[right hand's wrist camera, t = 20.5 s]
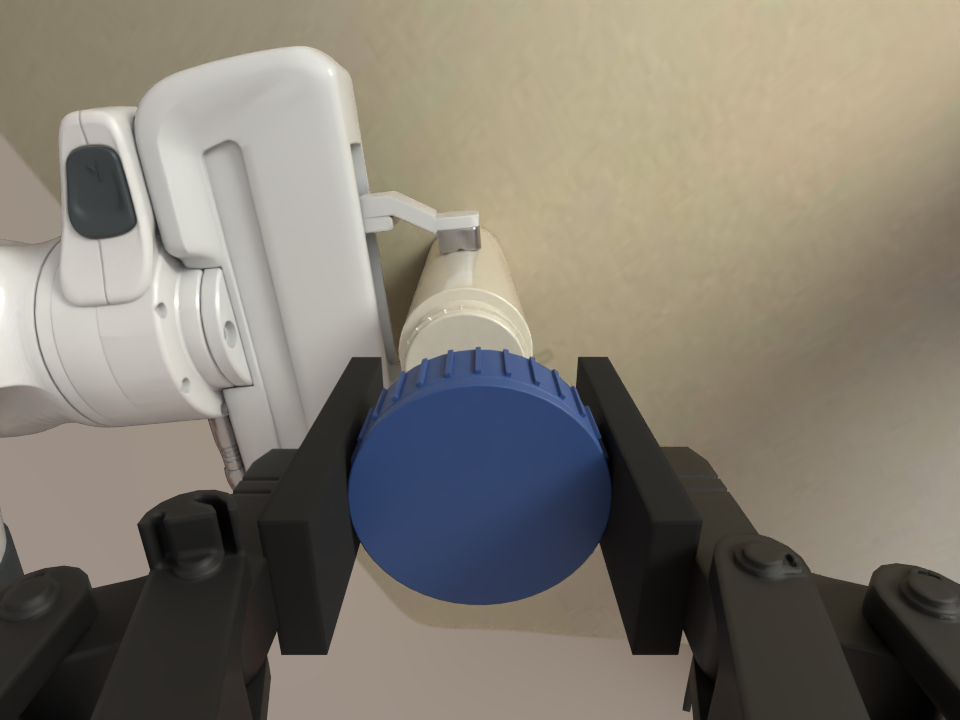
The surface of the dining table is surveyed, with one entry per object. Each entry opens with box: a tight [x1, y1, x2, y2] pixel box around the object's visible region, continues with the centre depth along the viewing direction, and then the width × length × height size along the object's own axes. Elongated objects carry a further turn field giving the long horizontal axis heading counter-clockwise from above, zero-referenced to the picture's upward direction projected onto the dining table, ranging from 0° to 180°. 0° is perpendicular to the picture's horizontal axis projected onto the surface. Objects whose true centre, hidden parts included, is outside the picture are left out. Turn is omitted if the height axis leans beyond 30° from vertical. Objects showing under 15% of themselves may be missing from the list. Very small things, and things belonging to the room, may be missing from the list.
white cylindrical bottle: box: [399, 227, 533, 373], centre depth 24 cm, size 4×4×15 cm
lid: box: [348, 347, 612, 605], centre depth 11 cm, size 5×5×2 cm
